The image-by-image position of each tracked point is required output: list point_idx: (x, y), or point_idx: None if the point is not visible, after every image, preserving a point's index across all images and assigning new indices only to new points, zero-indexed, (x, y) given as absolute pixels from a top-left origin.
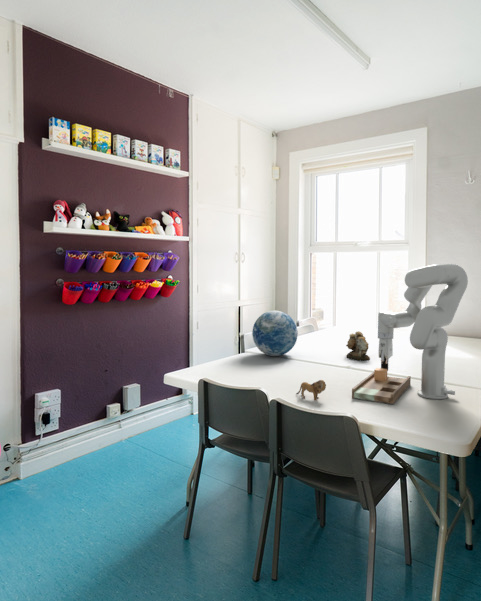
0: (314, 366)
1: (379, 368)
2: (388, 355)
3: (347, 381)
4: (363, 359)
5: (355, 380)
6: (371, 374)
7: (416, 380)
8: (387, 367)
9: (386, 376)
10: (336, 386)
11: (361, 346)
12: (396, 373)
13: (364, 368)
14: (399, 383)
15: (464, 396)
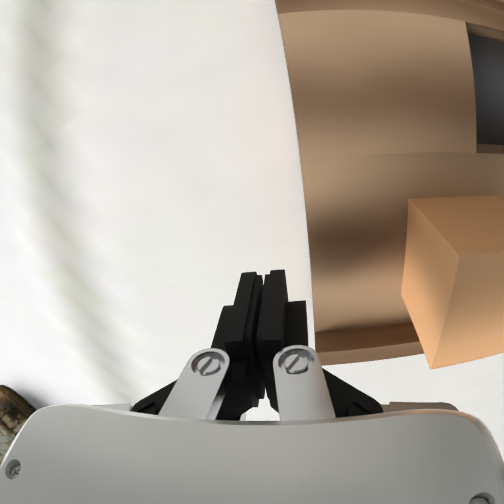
0: None
1: (457, 341)
2: (468, 486)
3: (405, 398)
4: (25, 405)
5: (367, 384)
6: (418, 348)
7: (79, 39)
8: (282, 299)
9: (455, 210)
10: (499, 385)
11: (6, 445)
12: (29, 245)
13: (96, 397)
14: (464, 51)
15: None
